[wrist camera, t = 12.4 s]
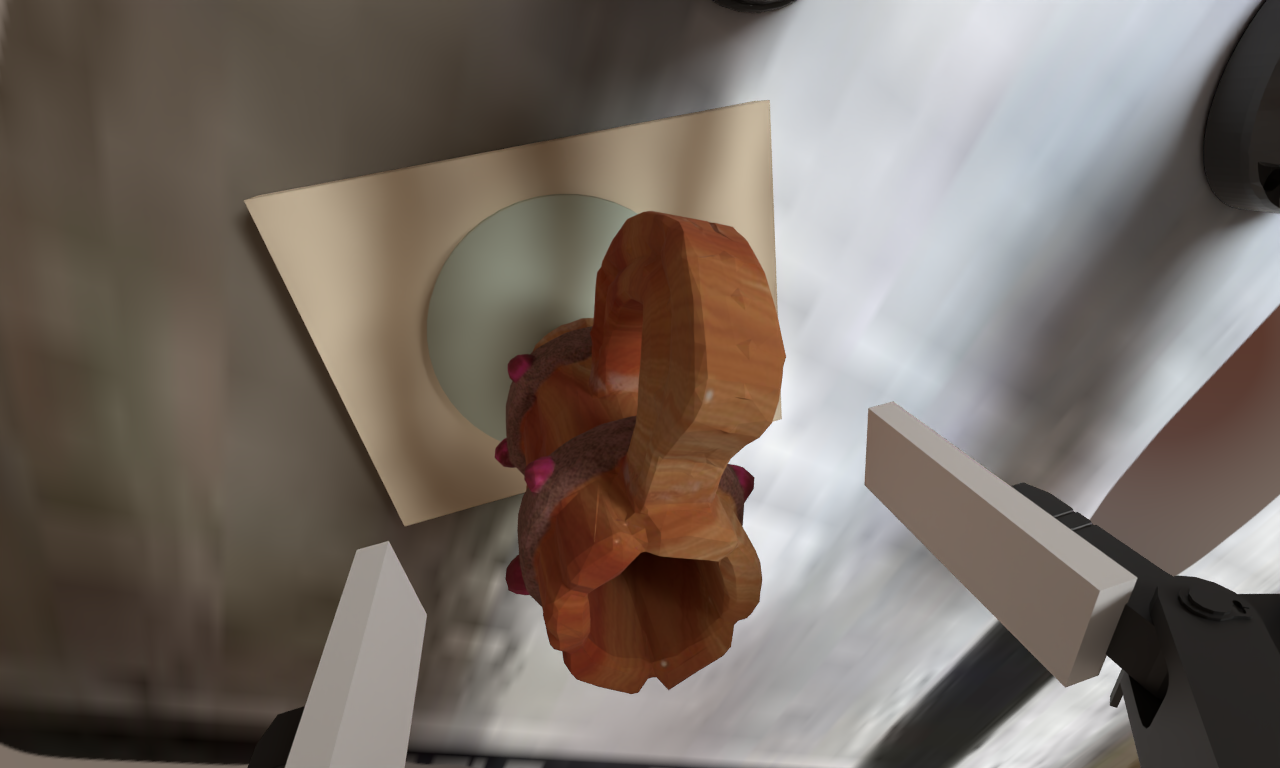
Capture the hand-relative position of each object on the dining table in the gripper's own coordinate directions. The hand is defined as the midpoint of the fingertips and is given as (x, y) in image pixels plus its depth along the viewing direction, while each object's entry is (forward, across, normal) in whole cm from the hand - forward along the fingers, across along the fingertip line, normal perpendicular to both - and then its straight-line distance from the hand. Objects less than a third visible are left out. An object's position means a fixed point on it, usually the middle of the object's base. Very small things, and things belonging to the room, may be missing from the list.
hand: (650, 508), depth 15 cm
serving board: (+15, +1, 0) cm, 15 cm away
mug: (+13, 0, 0) cm, 13 cm away
